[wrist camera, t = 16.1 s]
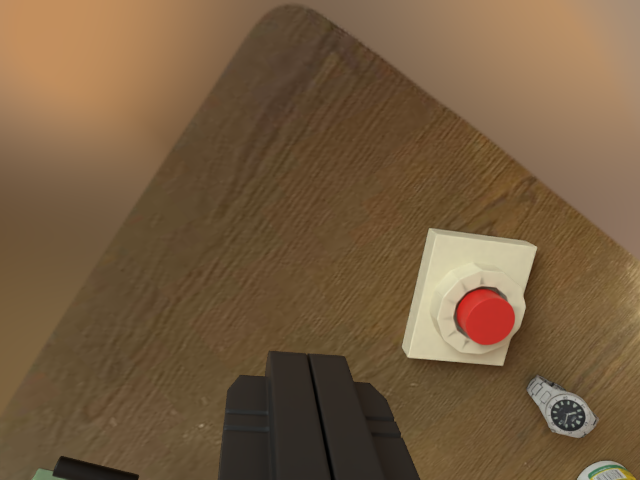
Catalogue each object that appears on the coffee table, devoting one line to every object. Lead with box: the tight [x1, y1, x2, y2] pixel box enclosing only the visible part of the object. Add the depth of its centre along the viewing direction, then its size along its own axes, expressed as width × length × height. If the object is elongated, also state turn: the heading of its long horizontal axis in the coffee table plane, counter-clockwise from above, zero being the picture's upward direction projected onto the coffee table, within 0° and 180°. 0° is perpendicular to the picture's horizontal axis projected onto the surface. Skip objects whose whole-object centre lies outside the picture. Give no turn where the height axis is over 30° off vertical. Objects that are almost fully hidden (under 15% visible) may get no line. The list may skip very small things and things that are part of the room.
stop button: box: [457, 289, 515, 345], centre depth 35 cm, size 4×4×2 cm
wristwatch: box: [526, 375, 599, 438], centre depth 40 cm, size 4×6×5 cm, turn 57°
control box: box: [402, 228, 537, 366], centre depth 37 cm, size 10×8×4 cm
